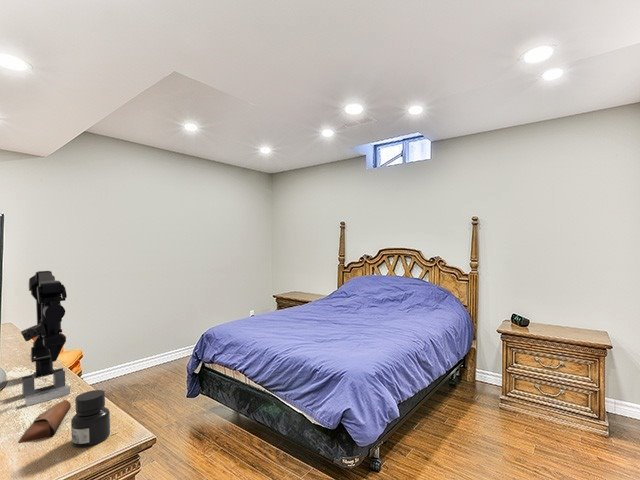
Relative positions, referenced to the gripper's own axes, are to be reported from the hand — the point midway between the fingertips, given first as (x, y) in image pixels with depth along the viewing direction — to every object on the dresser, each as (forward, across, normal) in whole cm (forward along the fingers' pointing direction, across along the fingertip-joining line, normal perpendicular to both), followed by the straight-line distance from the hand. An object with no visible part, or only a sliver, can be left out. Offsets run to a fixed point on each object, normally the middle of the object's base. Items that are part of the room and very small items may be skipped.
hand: (52, 358), depth 130 cm
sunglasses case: (+12, +31, -5) cm, 33 cm away
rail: (+12, +8, -2) cm, 15 cm away
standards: (+12, -1, -2) cm, 12 cm away
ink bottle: (+10, +50, +3) cm, 51 cm away
